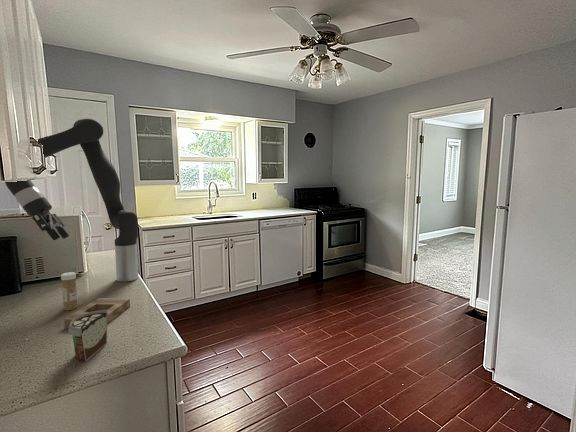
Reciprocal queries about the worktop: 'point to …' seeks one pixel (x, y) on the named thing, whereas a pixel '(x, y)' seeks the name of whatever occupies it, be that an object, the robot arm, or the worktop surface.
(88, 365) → the worktop surface
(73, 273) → the sprinkles bottle
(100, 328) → the food container
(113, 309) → the walnut caddy
